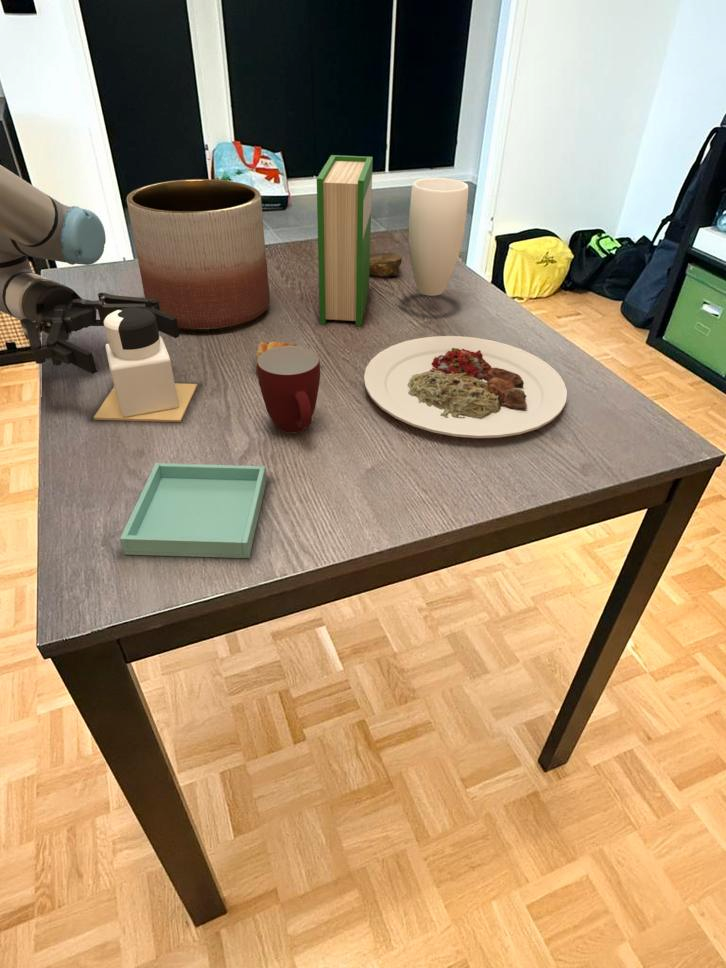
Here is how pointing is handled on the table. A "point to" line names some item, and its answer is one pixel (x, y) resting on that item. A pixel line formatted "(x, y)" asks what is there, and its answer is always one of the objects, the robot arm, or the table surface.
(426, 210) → the cup
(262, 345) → the pastry
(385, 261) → the decorative stone
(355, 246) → the hardback book
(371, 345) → the table surface
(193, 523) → the tray
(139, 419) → the mat
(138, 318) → the container
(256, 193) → the planter
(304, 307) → the table surface
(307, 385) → the mug
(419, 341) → the plated food
